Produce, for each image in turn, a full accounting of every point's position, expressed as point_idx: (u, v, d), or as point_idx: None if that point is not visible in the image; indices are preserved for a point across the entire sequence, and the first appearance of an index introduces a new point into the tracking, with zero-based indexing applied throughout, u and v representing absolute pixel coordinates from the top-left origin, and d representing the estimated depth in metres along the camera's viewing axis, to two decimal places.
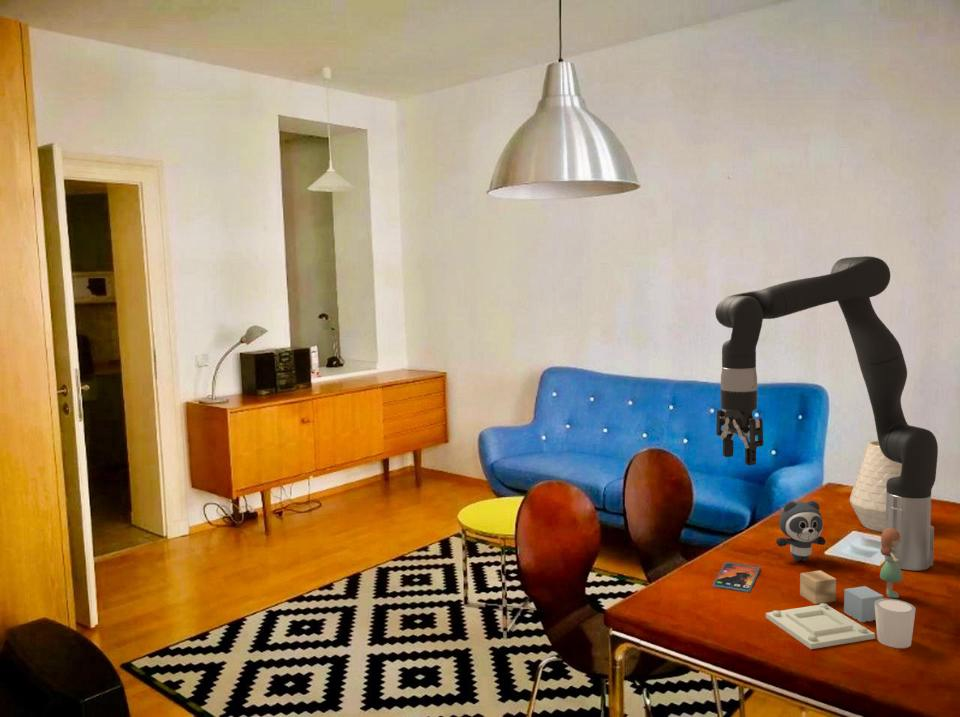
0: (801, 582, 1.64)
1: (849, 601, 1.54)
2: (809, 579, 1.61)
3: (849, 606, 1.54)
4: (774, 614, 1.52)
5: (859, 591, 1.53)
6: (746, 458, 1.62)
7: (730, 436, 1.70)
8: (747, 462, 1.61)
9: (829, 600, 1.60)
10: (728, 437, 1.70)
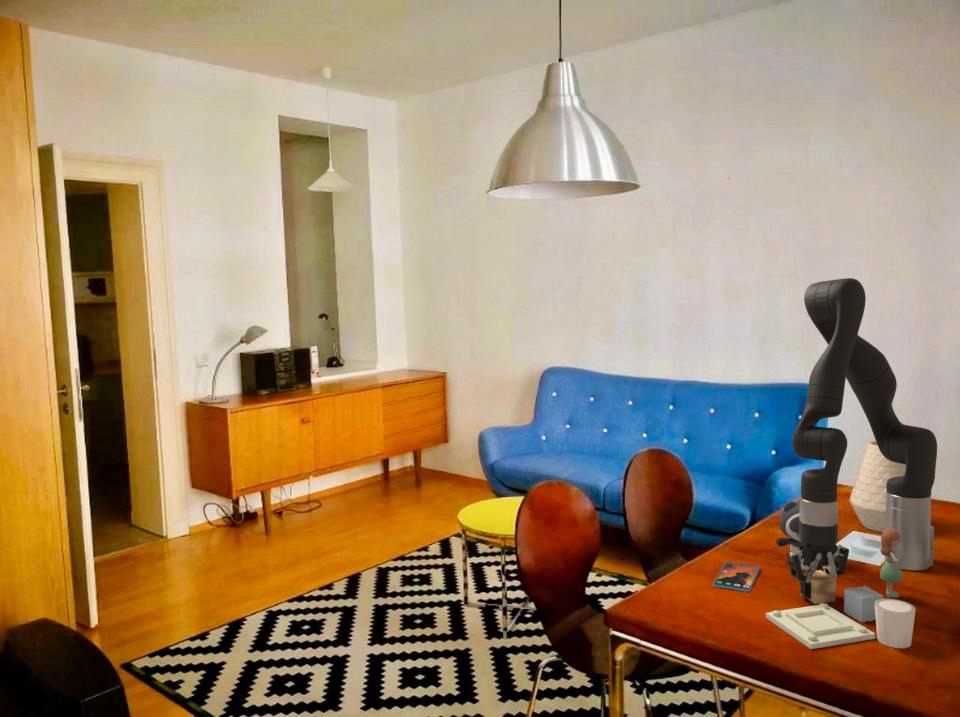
0: None
1: (849, 601, 1.54)
2: None
3: (849, 606, 1.54)
4: (774, 614, 1.52)
5: (859, 591, 1.53)
6: None
7: None
8: None
9: (829, 600, 1.60)
10: None
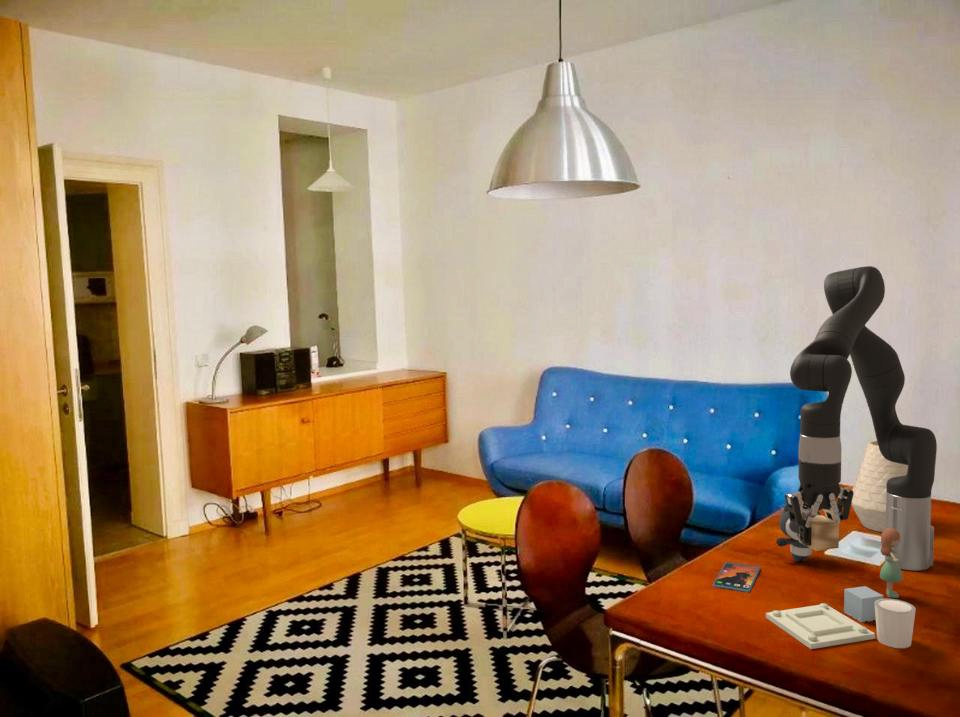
0: None
1: (849, 601, 1.54)
2: None
3: (849, 606, 1.54)
4: (774, 614, 1.52)
5: (859, 591, 1.53)
6: None
7: None
8: None
9: (831, 546, 1.45)
10: None
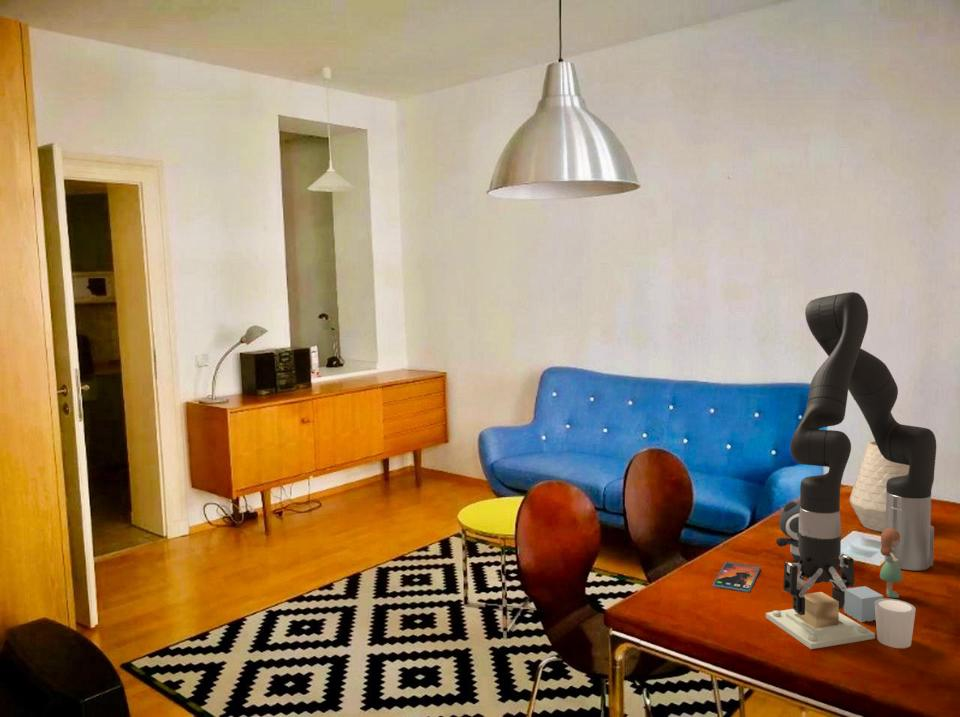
0: None
1: (849, 601, 1.54)
2: (809, 602, 1.47)
3: (849, 606, 1.54)
4: (774, 614, 1.52)
5: (859, 591, 1.53)
6: (841, 602, 1.48)
7: None
8: None
9: (831, 625, 1.47)
10: None
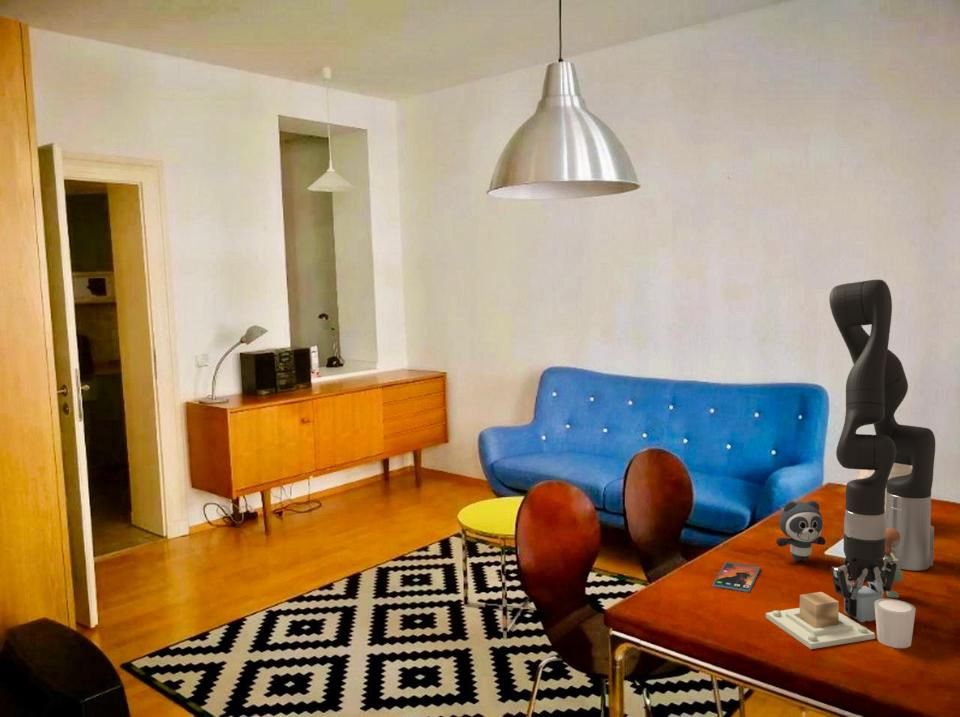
0: (801, 605, 1.50)
1: None
2: (809, 602, 1.47)
3: None
4: (774, 614, 1.52)
5: (859, 591, 1.53)
6: None
7: None
8: None
9: (831, 625, 1.47)
10: None
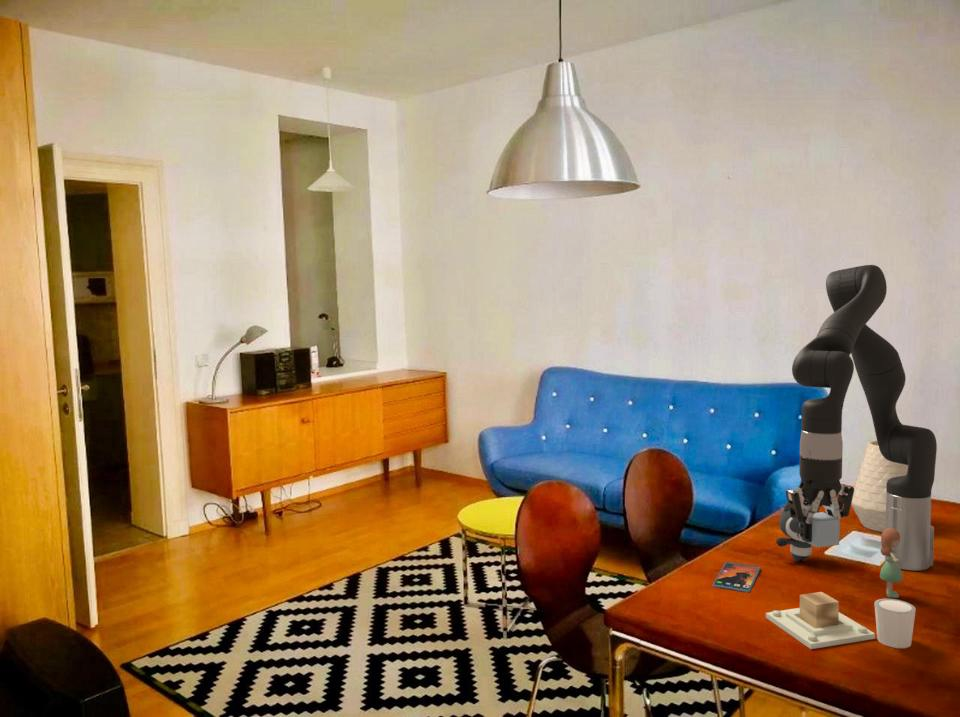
0: (801, 605, 1.50)
1: None
2: (809, 602, 1.47)
3: None
4: (774, 614, 1.52)
5: (815, 516, 1.47)
6: None
7: None
8: None
9: (831, 625, 1.47)
10: None
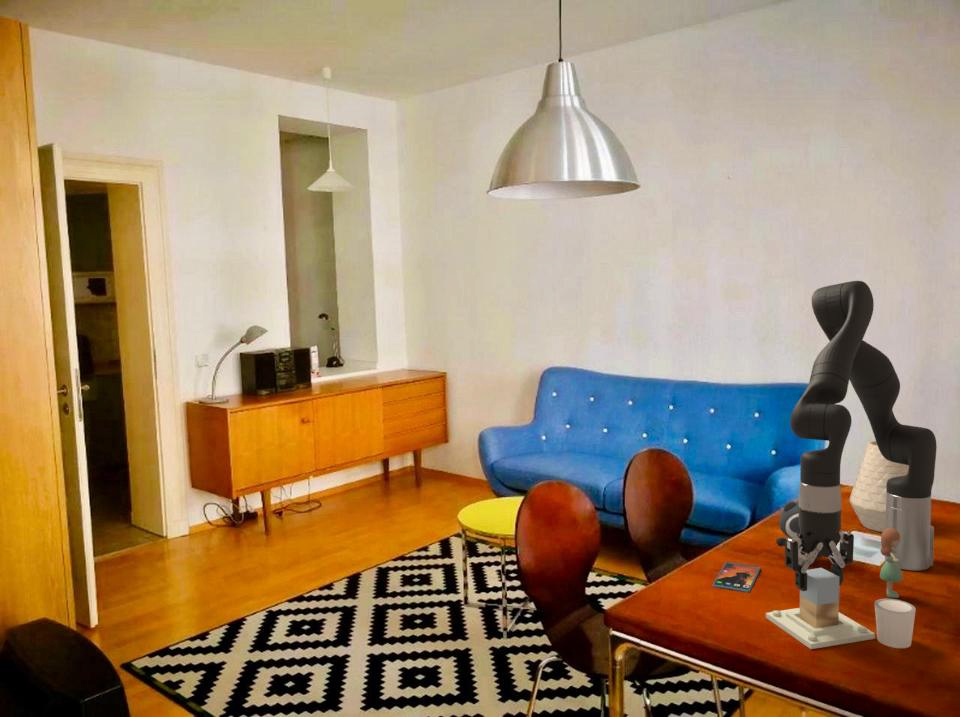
0: (801, 605, 1.50)
1: None
2: (809, 602, 1.47)
3: None
4: (774, 614, 1.52)
5: (815, 573, 1.48)
6: (840, 579, 1.48)
7: None
8: None
9: (831, 625, 1.47)
10: None
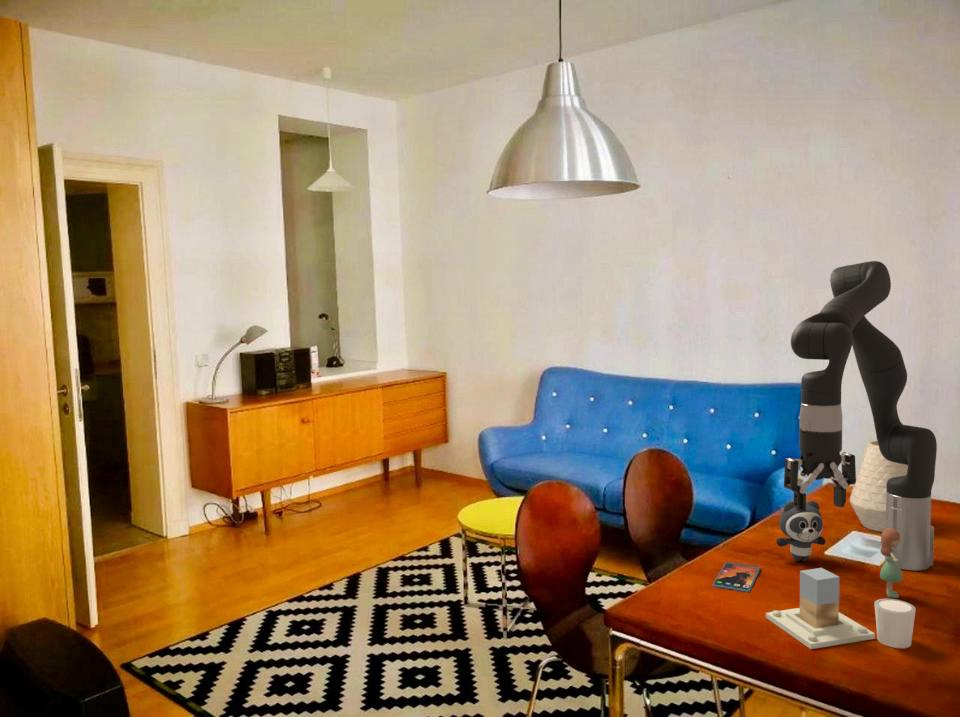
0: (801, 605, 1.50)
1: (804, 583, 1.48)
2: (809, 602, 1.47)
3: (804, 589, 1.49)
4: (774, 614, 1.52)
5: (815, 573, 1.48)
6: (843, 500, 1.46)
7: None
8: None
9: (831, 625, 1.47)
10: None
